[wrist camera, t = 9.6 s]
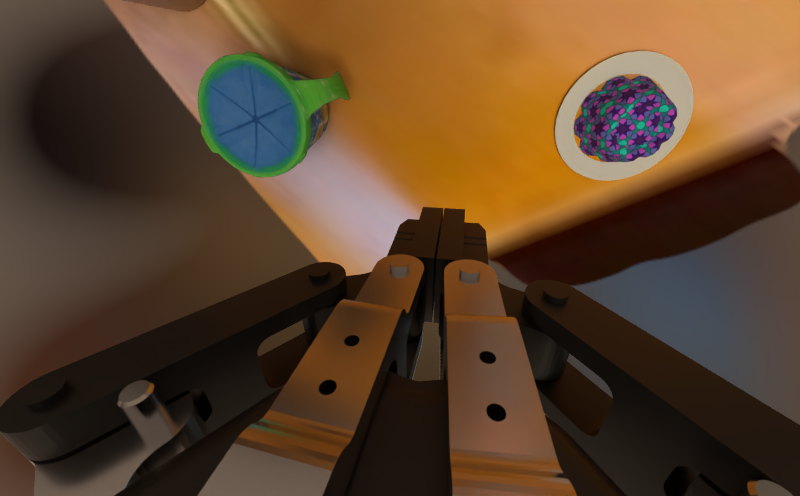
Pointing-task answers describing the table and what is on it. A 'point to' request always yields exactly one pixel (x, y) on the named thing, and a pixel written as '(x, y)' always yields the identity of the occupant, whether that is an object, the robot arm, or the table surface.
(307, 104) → the snack cup
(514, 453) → the robot arm
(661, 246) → the table surface
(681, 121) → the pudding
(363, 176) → the table surface
